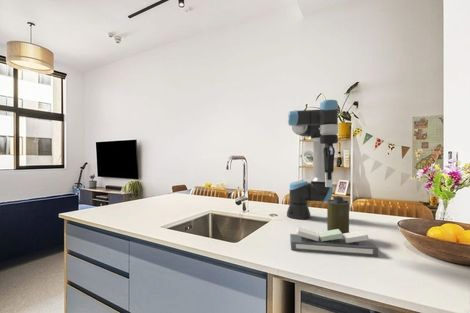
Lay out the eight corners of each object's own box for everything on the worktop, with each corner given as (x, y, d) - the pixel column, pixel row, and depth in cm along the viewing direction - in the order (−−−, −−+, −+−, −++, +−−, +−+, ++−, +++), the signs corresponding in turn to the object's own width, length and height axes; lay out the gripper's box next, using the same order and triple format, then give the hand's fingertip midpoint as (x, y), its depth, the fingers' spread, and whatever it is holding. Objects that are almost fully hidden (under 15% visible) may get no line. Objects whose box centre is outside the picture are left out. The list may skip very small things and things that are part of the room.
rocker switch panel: (290, 241, 110) (290, 231, 110) (368, 246, 103) (368, 236, 103) (291, 250, 100) (291, 239, 100) (378, 256, 93) (378, 245, 93)
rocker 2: (342, 238, 104) (341, 233, 104) (364, 234, 102) (362, 230, 102) (346, 243, 98) (345, 238, 98) (369, 239, 96) (367, 234, 96)
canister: (336, 240, 111) (336, 198, 111) (322, 233, 121) (322, 195, 121) (355, 238, 114) (355, 197, 114) (340, 231, 124) (340, 194, 124)
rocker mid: (319, 236, 106) (317, 232, 106) (339, 233, 104) (338, 228, 104) (321, 241, 100) (320, 237, 100) (343, 237, 98) (341, 233, 98)
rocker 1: (296, 230, 108) (297, 226, 108) (316, 236, 106) (317, 232, 106) (297, 235, 102) (298, 230, 102) (318, 241, 100) (319, 236, 100)
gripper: (317, 136, 113) (317, 184, 113) (322, 133, 100) (322, 188, 100) (334, 135, 111) (334, 185, 111) (341, 133, 98) (341, 189, 98)
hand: (328, 186), depth 106 cm, fingers closed
